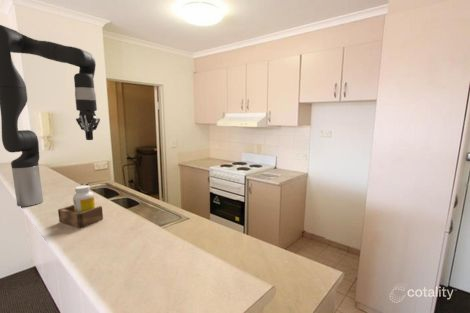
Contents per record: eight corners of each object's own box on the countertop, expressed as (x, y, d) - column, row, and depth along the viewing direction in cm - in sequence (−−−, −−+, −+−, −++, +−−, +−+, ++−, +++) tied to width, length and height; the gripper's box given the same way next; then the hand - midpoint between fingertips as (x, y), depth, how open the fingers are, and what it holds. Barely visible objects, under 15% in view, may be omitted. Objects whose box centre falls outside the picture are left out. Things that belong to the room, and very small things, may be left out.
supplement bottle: (100, 216, 96) (96, 184, 94) (88, 223, 89) (84, 189, 87) (84, 215, 96) (80, 184, 95) (71, 222, 90) (67, 189, 88)
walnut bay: (59, 222, 90) (57, 209, 89) (82, 214, 98) (81, 202, 97) (80, 228, 85) (78, 214, 84) (103, 219, 93) (101, 206, 92)
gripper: (67, 99, 103) (71, 140, 106) (87, 98, 98) (91, 141, 100) (84, 100, 110) (88, 138, 112) (104, 99, 104) (107, 139, 107)
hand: (89, 139), depth 106 cm, fingers closed
